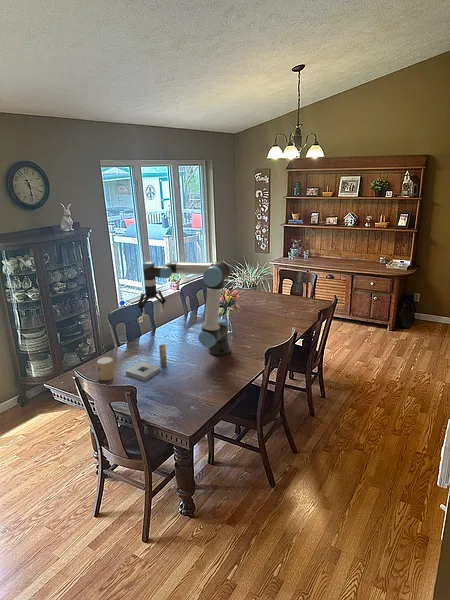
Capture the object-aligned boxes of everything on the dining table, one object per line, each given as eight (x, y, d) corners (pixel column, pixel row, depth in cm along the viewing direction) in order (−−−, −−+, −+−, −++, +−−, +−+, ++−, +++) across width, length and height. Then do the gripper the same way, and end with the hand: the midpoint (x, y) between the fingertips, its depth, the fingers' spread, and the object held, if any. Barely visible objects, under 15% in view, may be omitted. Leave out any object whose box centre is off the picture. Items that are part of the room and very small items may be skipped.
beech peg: (168, 364, 263) (166, 345, 259) (164, 367, 260) (162, 347, 256) (163, 363, 265) (162, 343, 261) (159, 366, 262) (157, 346, 258)
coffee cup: (100, 374, 253) (98, 357, 249) (116, 373, 253) (114, 356, 249) (97, 382, 244) (95, 364, 240) (113, 381, 244) (111, 363, 241)
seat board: (160, 371, 256) (160, 367, 255) (145, 380, 244) (144, 377, 243) (141, 365, 264) (141, 361, 263) (125, 374, 252) (125, 370, 251)
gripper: (164, 280, 282) (166, 309, 289) (130, 287, 269) (133, 317, 276) (169, 282, 277) (171, 312, 283) (135, 289, 263) (138, 320, 270)
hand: (152, 314), depth 279 cm, fingers open, 13 cm apart
